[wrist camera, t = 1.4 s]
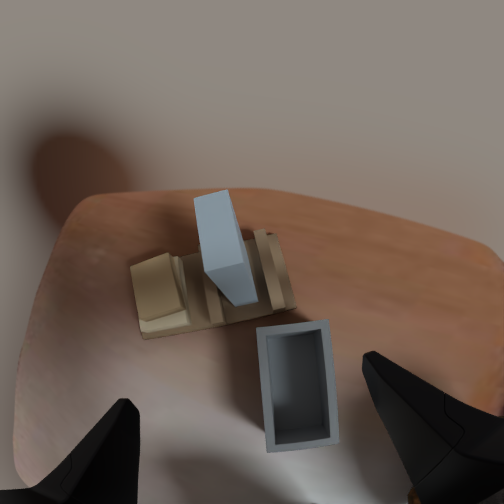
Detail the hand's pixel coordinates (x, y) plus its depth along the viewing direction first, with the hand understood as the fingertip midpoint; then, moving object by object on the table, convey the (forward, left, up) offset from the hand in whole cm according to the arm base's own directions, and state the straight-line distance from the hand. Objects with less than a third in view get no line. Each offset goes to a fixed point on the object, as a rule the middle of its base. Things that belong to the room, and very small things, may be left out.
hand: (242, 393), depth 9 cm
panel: (+2, +8, -13) cm, 15 cm away
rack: (-1, +9, -13) cm, 16 cm away
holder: (+2, -2, -13) cm, 14 cm away
